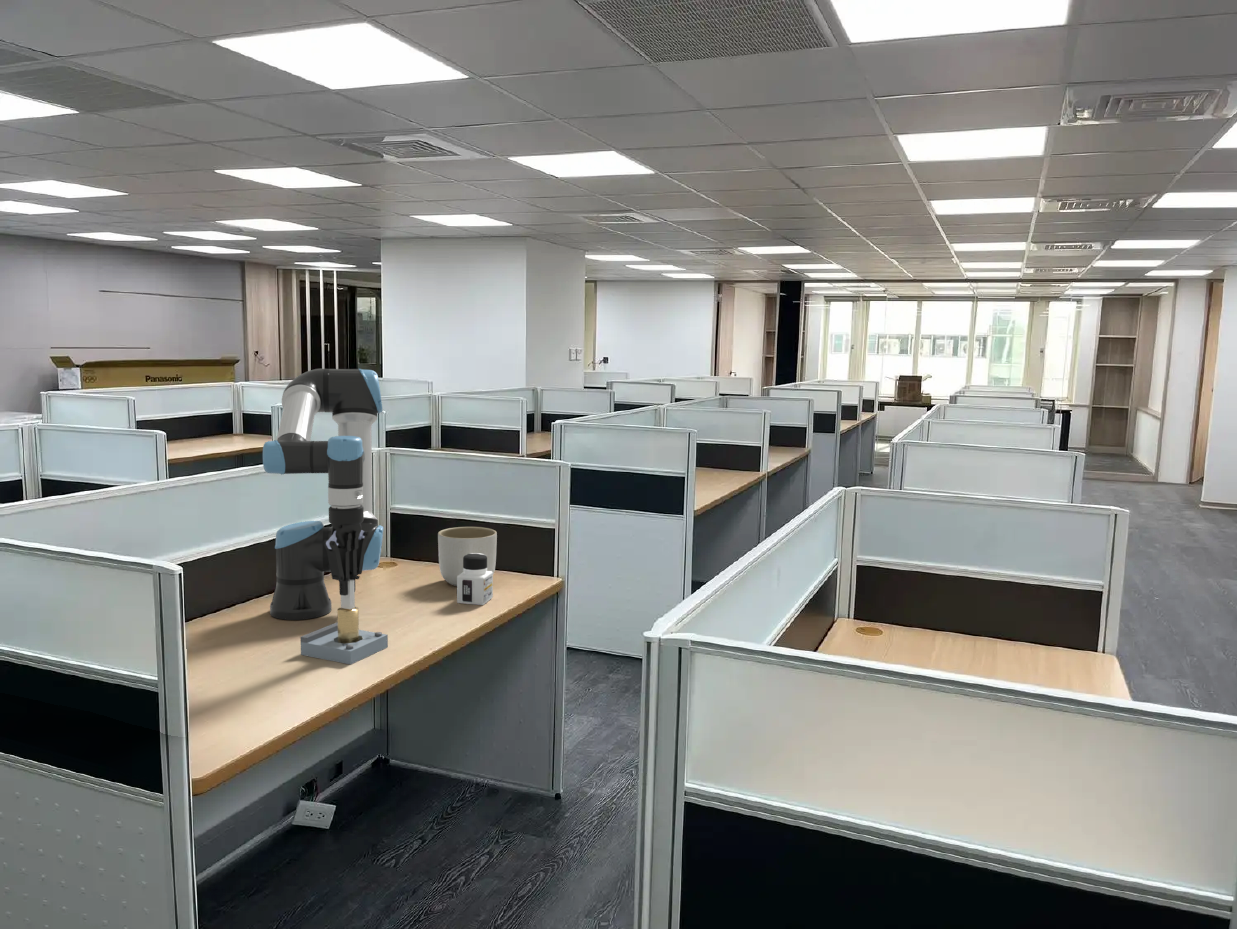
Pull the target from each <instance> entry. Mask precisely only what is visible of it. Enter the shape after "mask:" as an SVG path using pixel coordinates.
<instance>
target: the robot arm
mask: <svg viewBox="0 0 1237 929" xmlns="http://www.w3.org/2000/svg"><path fill="white" fill-rule="evenodd" d="M281 396H282V397H281V405H282V409H283V411H282V415H281V418H280V422H279V428H278V432H277V436H276V439H275V440H268V441H266V442H264V444H263V447H262V465H263V466H262V467H263V470H264V471H265V473H267V474H273V475H281V476H282V475H292V474H293V475H296V474H328V475H327V477H328V478H327V479H328V483H327V485H328V486H327V494H328V495H327V498H328V499H327V503H328V505H329V507H328V523H330V524H331V526H326V527H325V526H324V523H323V521H320V520H305V521H299V522H295V523H290V524H287V525H284V526H282V527H280V528H279V529H278V530H277V531H276V534H275V545H274V549H275V565H276V566H275V568H276V569H275V570H276V573H275V574H276V585H275V589H274V591H273V596H272V599H271V600H272V601H271V602H270V605H269V614H270V616H271V617H272V618H275V619H279V620H284V621H285V620H286V621H296V620H297V621H299V620H308V619H309V620H310V619H315V618H319V617H323V616H326V615H328V614H329V613H331V611H332V600H331V598H330V597H329V593H328V590H327V586H326V584H325V583H326V582H325V575H324V574H325V573H330V575H331V578H332V580H335V581H338V583H339V586H338V587H339V588H338V589H339V595H340V608H344V609H353V608H355V607H356V604H355V603H356V602H355V600H356V599H355V594H356V593H355V592H356V580H359V579H360V578H361V576H360V575H362V574H363V571H372V570H376V569H377V568H378V567H379V565H380V560H381V554H382V545H383V538H384V526H382V525H380V524H379V519H378V518H377V517H376V516H375V514H373V497H372V496H373V491H372V490H373V488H372V486H373V484H372V483H373V481H372V479H373V478H372V475H373V474H372V473H373V469H372V468H373V467H372V464H373V463H372V461H373V460H372V456H373V454H372V452H373V451H372V448H373V447H372V426H373V424H374V423H375V422H376V421H377V420H378V414H381V413H382V412H383V411H384V410H383V402H382V395H381V386H380V381H379V376H378V373H377V372H376V371H374V370H372V369H362V368H315V369H312V370H308V371H305V372H304V373H301V374H299V375H298V376H296V377H294V378H293V380H291V381H290V382H289V383H288V384H287V386H286V387H285V388H284V390H283V392H282V395H281ZM317 413H332V420H333V421H334V422H335V423H336V424H337V435H336V436H331V437H329V438H328V440H311V439H312V433H313V426H314V421H315V416H316V414H317Z"/></svg>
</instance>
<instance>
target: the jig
mask: <svg viewBox="0 0 1237 929" xmlns="http://www.w3.org/2000/svg"><path fill="white" fill-rule="evenodd" d="M388 640H389V636H388V634H385V633H383V632H381V631H376V632H373V631H369V630H363V629H359V641H358V642H356V643H345V644H343V643H338V621H337V622H335V623H331V624H329V625H327V626H324V627H322V628H319V629H317V630H314V631H311V632H308V633H306V634H304V635H302V636H300V655H301V656H306V657H311V658H314V659H315V658H316V659H321V660H326V661H331V662H337V663H341V664H347V665H353V664H355V663H357V662H359V661H361V660H363V659H366V658H368V657H370V656H372V655H375V654H377V653H379V652H381V651H383V650H385V649H387V648H388V646H389V643H388V642H389V641H388Z"/></svg>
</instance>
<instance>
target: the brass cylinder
mask: <svg viewBox="0 0 1237 929" xmlns="http://www.w3.org/2000/svg"><path fill="white" fill-rule="evenodd" d="M336 613H337V615H336V616H337V622H338V643H343V644H345V643H356V642H358V641H359V630H360V626H359V624H360V623H359V622H360V620H359V618H360V616H359V614H360V613H359V607H357V606H355V608H353V609H344V608H341V607H338V608H337V611H336Z"/></svg>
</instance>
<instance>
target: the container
mask: <svg viewBox="0 0 1237 929" xmlns="http://www.w3.org/2000/svg"><path fill="white" fill-rule="evenodd" d="M463 571H464V572H463V573H461V574H460V575H458V576H457V586H456V602H457V604H465V605H466V604H467V605H477V606H484V605H485V604H487V603H488V602H490V601H491V600H492V599H493V597H494V593H493V591H494V587H493V586H494V582H493V581H494V577H493V576H494V574H493V572H492V571H487V556H486V555H484V554H481V553H470V554H467V555H465V556H464V557H463Z"/></svg>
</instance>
